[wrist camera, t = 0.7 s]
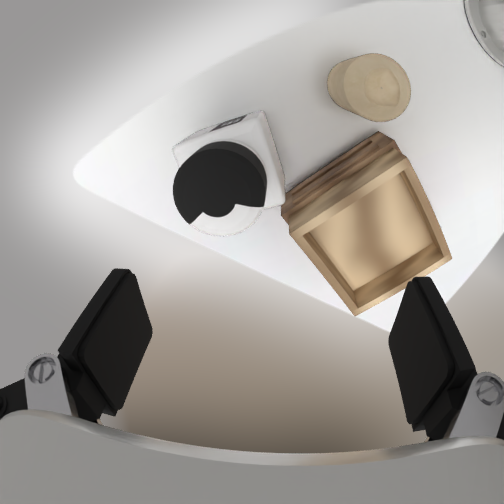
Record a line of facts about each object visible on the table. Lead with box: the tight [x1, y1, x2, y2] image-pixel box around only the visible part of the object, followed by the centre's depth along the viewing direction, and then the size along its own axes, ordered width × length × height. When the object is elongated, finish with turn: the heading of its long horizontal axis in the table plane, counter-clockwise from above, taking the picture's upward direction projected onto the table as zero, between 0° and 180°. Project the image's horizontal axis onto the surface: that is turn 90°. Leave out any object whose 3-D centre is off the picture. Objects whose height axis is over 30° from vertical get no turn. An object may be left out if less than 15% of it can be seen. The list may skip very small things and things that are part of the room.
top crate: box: [289, 148, 452, 316], centre depth 27 cm, size 12×12×4 cm
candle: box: [327, 53, 411, 122], centre depth 22 cm, size 6×6×10 cm
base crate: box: [281, 131, 401, 225], centre depth 31 cm, size 13×13×5 cm
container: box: [172, 111, 285, 236], centre depth 26 cm, size 8×8×13 cm
